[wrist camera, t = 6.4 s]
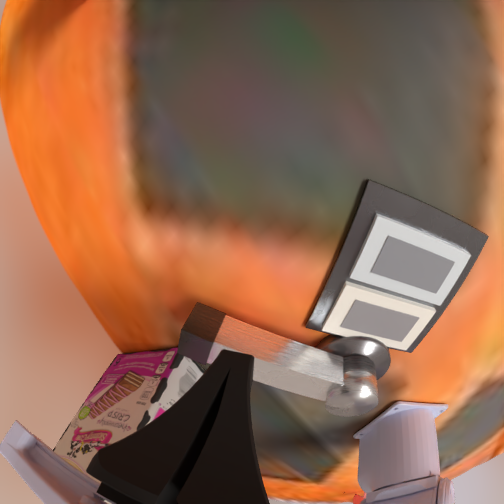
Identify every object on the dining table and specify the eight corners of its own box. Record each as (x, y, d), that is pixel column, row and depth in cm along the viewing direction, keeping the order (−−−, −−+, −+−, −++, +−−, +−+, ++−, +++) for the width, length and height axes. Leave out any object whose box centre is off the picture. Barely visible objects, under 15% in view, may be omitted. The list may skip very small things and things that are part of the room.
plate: (410, 349, 17) (411, 352, 17) (306, 324, 18) (305, 327, 18) (486, 234, 12) (488, 236, 12) (368, 179, 13) (369, 180, 12)
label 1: (438, 302, 15) (440, 306, 14) (349, 274, 15) (349, 278, 15) (468, 252, 12) (471, 256, 12) (376, 213, 13) (378, 216, 13)
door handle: (384, 362, 16) (389, 397, 14) (357, 387, 18) (358, 419, 16) (198, 296, 17) (179, 328, 14) (190, 330, 19) (173, 361, 16)
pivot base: (365, 382, 20) (365, 393, 19) (302, 368, 21) (300, 380, 20) (402, 338, 17) (405, 350, 16) (331, 320, 17) (331, 332, 16)
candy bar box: (182, 341, 22) (96, 506, 8) (213, 376, 24) (151, 527, 10) (114, 351, 27) (44, 460, 13) (142, 379, 28) (83, 485, 14)
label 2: (405, 346, 17) (406, 351, 17) (321, 326, 17) (321, 331, 17) (434, 307, 15) (436, 312, 14) (345, 280, 15) (346, 285, 15)
